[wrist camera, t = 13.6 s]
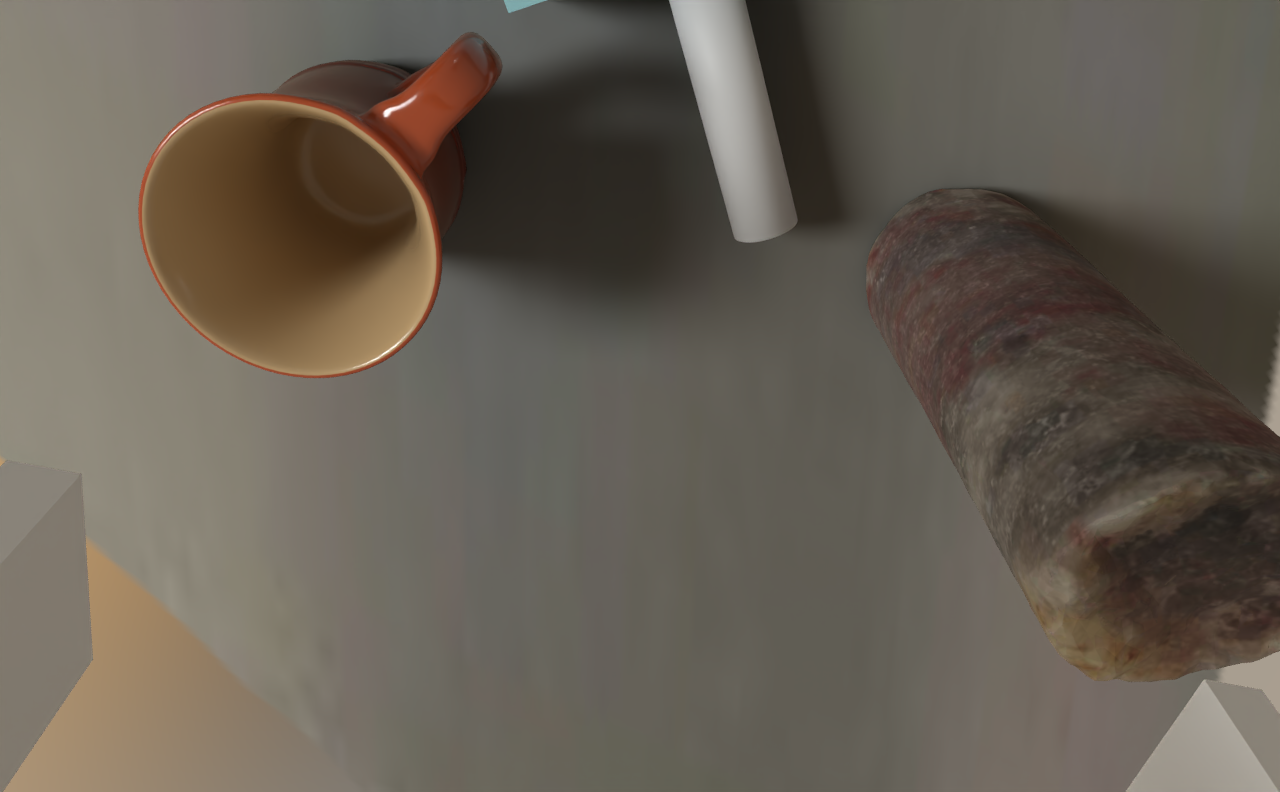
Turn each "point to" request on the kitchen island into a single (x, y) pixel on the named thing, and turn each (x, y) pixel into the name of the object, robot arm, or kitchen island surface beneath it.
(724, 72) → the chuck block
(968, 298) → the brown mottled cylinder
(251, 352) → the mug
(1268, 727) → the robot arm
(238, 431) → the kitchen island surface
